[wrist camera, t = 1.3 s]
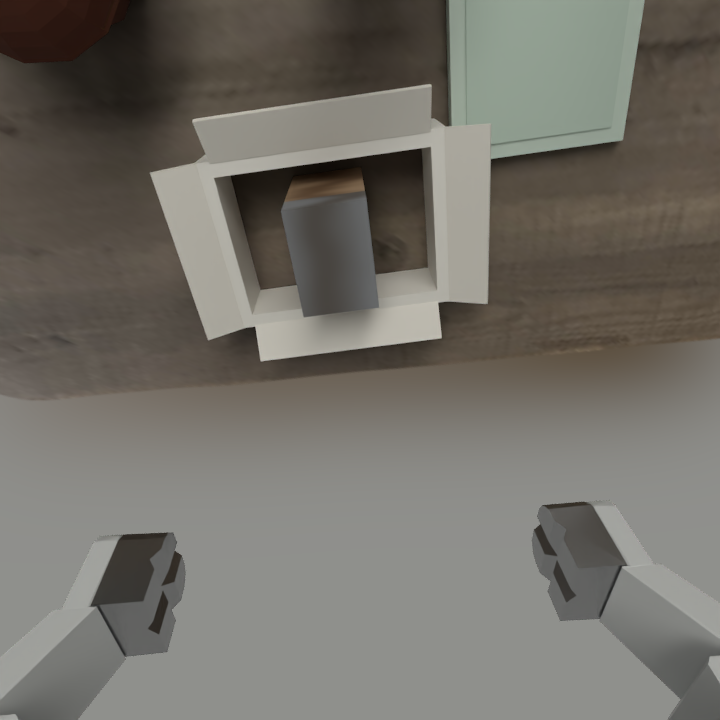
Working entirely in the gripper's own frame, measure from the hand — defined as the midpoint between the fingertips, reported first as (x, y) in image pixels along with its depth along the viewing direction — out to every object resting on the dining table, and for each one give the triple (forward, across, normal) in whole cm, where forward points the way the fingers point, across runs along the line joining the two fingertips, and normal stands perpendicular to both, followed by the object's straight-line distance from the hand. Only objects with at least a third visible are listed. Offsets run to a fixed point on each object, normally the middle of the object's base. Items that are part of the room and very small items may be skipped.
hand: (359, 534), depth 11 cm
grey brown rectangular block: (+30, 0, +2) cm, 30 cm away
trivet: (+30, -14, -9) cm, 34 cm away
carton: (+30, 0, +2) cm, 30 cm away
